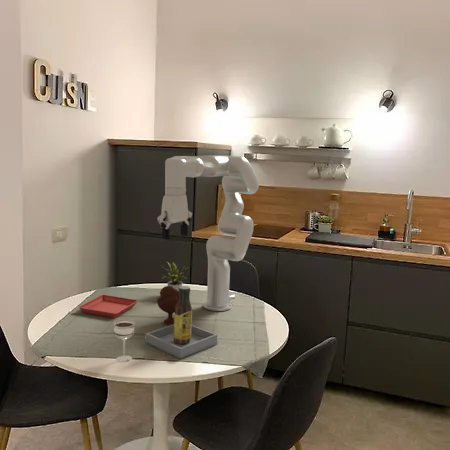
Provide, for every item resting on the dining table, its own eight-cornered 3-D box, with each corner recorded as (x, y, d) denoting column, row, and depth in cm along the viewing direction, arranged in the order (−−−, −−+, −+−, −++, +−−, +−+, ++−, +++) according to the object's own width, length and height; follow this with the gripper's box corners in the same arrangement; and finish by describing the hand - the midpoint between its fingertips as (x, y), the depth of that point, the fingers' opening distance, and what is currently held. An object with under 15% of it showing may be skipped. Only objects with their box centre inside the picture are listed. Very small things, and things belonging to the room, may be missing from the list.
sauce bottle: (183, 346, 169) (185, 291, 165) (169, 342, 172) (171, 288, 169) (194, 340, 174) (196, 287, 171) (181, 336, 178) (182, 283, 174)
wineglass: (138, 360, 158) (138, 325, 156) (118, 364, 154) (118, 329, 152) (129, 352, 164) (129, 318, 162) (110, 356, 160) (110, 322, 158)
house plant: (150, 294, 227) (151, 260, 225) (174, 289, 236) (175, 256, 234) (169, 302, 217) (169, 266, 214) (193, 296, 226) (194, 262, 224)
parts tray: (182, 329, 185) (182, 321, 185) (217, 343, 174) (217, 334, 173) (145, 343, 172) (145, 333, 171) (180, 359, 160) (180, 349, 160)
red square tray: (116, 321, 193) (116, 313, 192) (77, 314, 199) (77, 306, 198) (138, 307, 210) (138, 300, 209) (102, 301, 215) (102, 294, 215)
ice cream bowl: (179, 328, 186) (180, 291, 184) (152, 325, 189) (152, 288, 186) (187, 319, 197) (188, 283, 194) (161, 316, 199) (161, 280, 196)
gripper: (184, 189, 188) (184, 232, 191) (151, 192, 175) (151, 239, 178) (198, 191, 183) (198, 235, 187) (165, 194, 170) (165, 242, 173)
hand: (175, 237), depth 182 cm, fingers open, 9 cm apart
